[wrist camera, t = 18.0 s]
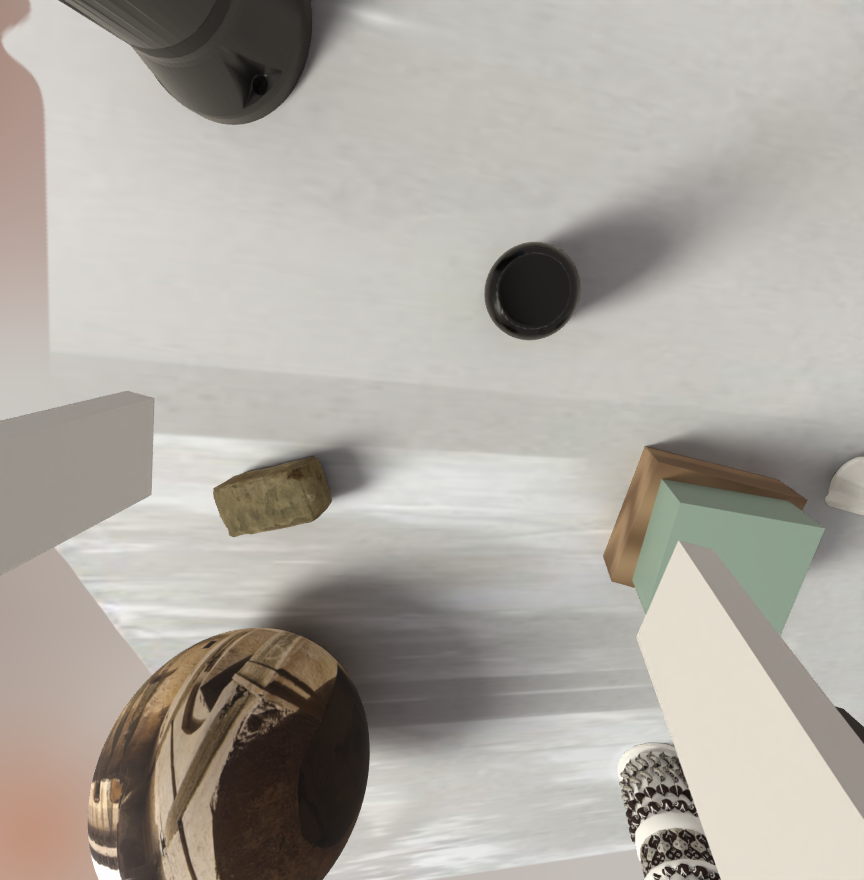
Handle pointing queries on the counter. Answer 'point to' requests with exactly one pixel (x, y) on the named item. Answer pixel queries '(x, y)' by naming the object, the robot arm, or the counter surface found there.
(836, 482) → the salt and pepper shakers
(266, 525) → the stone block
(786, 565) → the sage top block
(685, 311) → the counter surface
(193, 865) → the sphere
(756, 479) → the walnut base block
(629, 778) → the decorative candle
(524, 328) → the supplement bottle
